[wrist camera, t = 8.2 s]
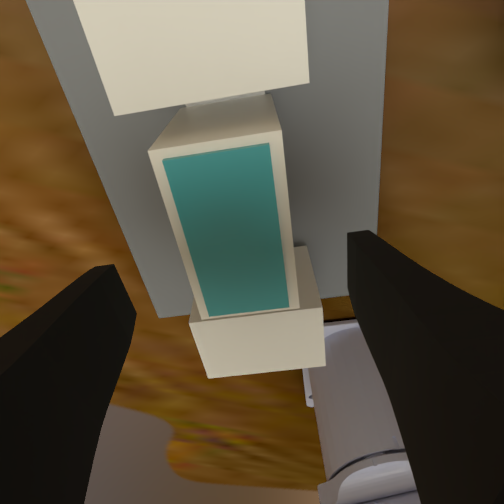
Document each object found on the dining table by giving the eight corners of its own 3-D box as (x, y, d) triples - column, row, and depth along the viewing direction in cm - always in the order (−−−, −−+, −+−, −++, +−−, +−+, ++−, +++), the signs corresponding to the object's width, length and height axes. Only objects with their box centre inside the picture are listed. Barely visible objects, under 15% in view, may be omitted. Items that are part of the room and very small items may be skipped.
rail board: (369, 282, 23) (406, 363, 17) (162, 307, 24) (136, 392, 18) (384, -95, 13) (483, -177, 7) (29, -22, 14) (-109, -47, 9)
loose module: (286, 231, 19) (300, 311, 14) (213, 241, 19) (201, 323, 14) (270, 93, 15) (282, 131, 10) (180, 108, 15) (145, 153, 10)
